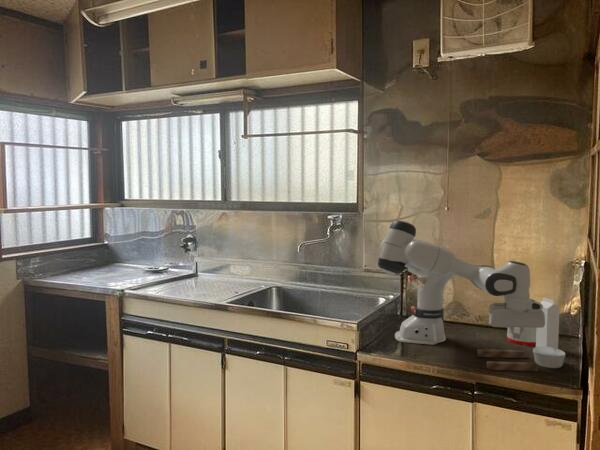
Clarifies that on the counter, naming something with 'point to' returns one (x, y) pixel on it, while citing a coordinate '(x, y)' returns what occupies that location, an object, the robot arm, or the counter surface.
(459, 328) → the counter surface
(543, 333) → the milk
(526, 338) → the kitchen timer
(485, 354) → the parallel wooden rails
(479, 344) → the counter surface
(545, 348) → the ramekin
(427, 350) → the counter surface
